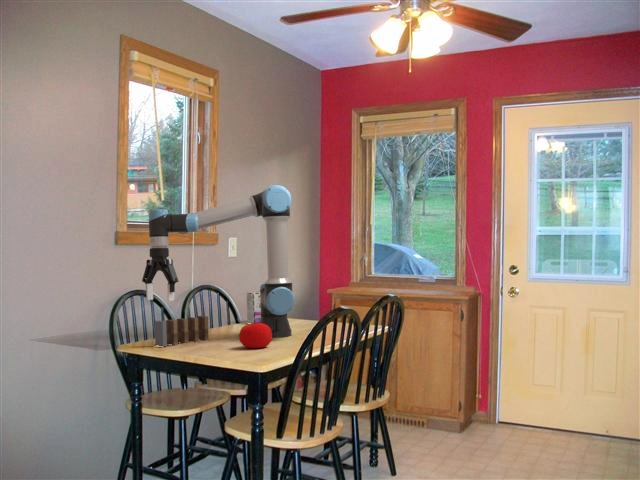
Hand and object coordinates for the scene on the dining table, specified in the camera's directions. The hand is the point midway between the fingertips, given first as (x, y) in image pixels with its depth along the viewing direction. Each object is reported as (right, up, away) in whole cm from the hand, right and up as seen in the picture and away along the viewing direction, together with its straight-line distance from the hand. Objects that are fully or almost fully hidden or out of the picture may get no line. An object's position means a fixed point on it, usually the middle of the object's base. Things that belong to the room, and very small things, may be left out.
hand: (160, 300), depth 254 cm
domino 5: (+14, -19, +17) cm, 29 cm away
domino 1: (0, -18, 0) cm, 18 cm away
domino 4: (+11, -19, +12) cm, 25 cm away
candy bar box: (+32, -19, +72) cm, 81 cm away
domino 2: (+4, -19, +4) cm, 19 cm away
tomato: (+40, -18, -11) cm, 45 cm away
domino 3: (+7, -19, +8) cm, 22 cm away
